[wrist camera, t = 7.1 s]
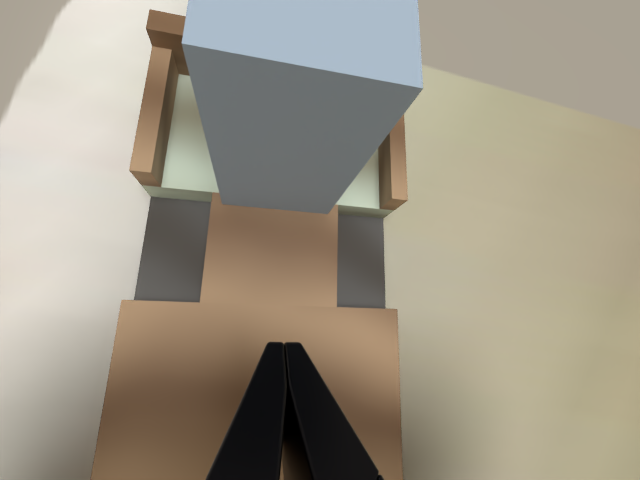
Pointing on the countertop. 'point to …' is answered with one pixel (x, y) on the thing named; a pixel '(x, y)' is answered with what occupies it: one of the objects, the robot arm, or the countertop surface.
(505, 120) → the countertop surface
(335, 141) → the blue-grey block
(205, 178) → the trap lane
